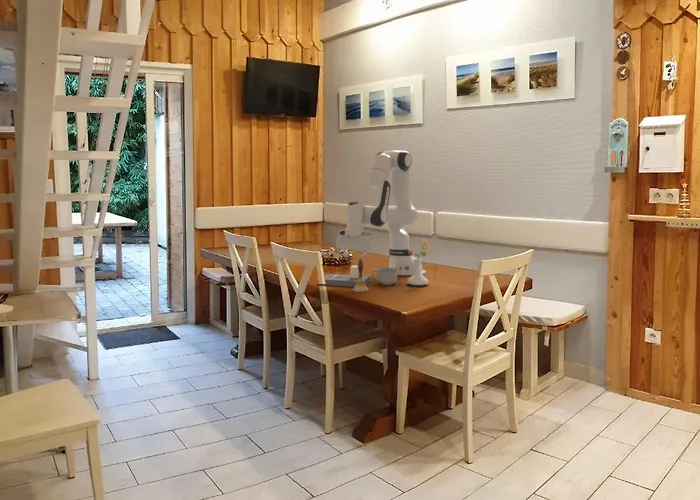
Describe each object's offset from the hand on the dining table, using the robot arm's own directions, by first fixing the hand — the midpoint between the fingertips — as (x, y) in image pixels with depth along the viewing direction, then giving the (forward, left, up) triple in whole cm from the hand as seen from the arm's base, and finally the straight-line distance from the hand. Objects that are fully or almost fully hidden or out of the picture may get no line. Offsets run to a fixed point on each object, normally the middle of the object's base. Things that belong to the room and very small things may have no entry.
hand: (354, 257), depth 326 cm
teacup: (-15, -5, -15) cm, 22 cm away
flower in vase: (-33, -8, -15) cm, 37 cm away
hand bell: (-8, +15, -15) cm, 22 cm away
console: (+6, 0, -14) cm, 15 cm away
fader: (0, 0, -11) cm, 11 cm away
